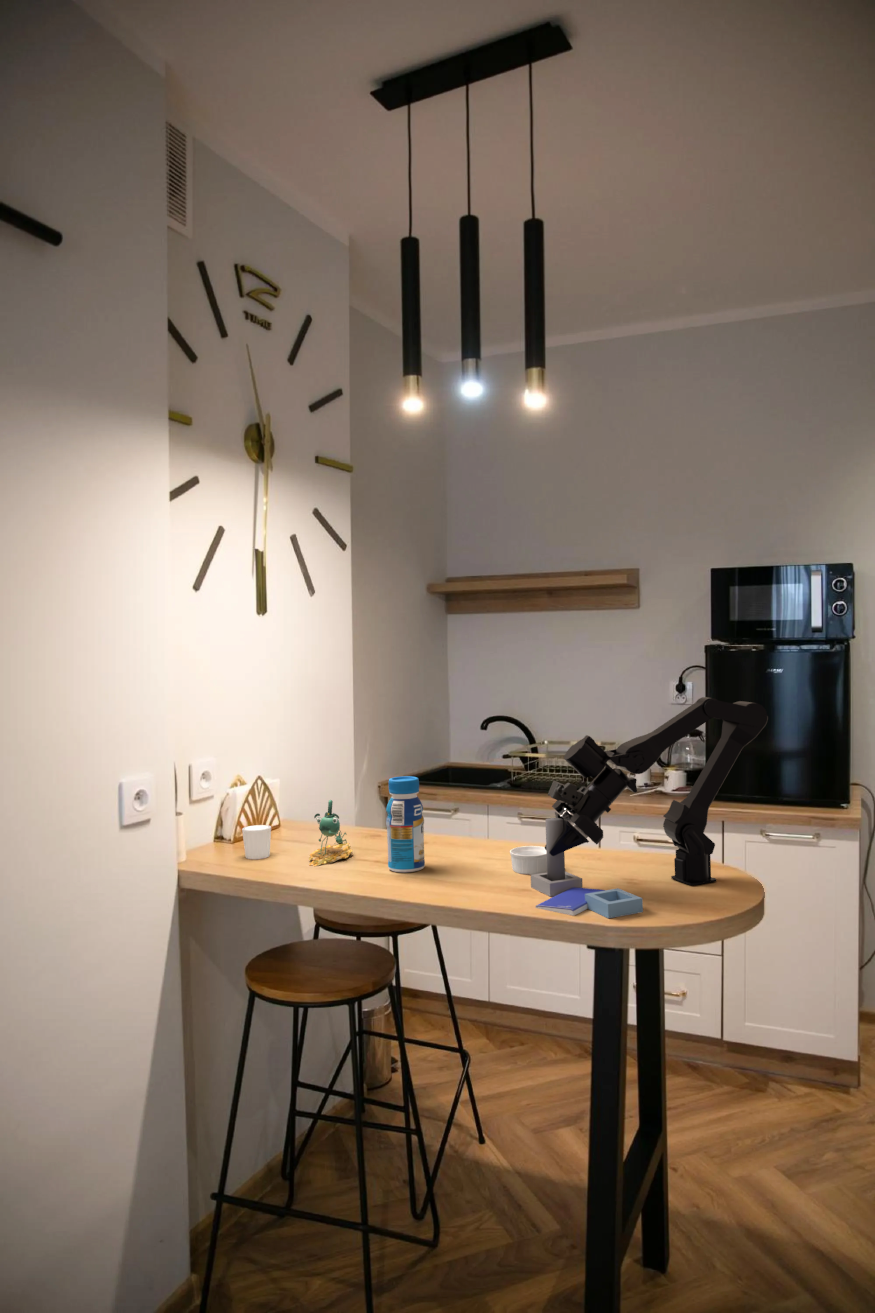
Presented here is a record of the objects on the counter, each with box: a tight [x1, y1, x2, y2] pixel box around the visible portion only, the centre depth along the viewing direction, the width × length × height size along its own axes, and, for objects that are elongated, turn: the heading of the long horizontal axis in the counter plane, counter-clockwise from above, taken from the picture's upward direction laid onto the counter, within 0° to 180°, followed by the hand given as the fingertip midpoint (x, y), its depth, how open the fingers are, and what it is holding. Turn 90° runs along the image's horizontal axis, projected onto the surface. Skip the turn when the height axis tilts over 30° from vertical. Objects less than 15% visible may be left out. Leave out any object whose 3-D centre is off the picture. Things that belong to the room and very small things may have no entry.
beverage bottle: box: [385, 775, 426, 873], centre depth 191 cm, size 8×8×20 cm
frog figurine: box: [308, 799, 353, 867], centre depth 204 cm, size 10×18×15 cm, turn 155°
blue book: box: [535, 887, 606, 917], centre depth 162 cm, size 2×8×12 cm
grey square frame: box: [530, 870, 584, 897], centre depth 172 cm, size 7×7×2 cm
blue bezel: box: [585, 888, 644, 919], centre depth 157 cm, size 7×7×2 cm
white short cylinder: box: [241, 824, 272, 860], centre depth 207 cm, size 7×7×7 cm
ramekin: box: [509, 845, 547, 876], centre depth 187 cm, size 9×9×4 cm
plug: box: [545, 817, 566, 881], centre depth 171 cm, size 4×4×13 cm
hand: (548, 852), depth 171 cm, fingers closed on plug, 3 cm apart
